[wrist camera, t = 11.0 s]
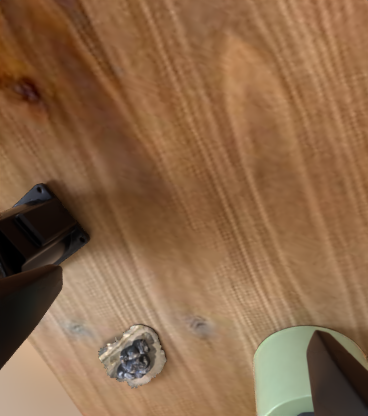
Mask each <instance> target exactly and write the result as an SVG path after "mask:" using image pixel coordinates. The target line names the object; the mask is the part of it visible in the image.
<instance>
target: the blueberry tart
mask: <svg viewBox="0 0 368 416" xmlns="http://www.w3.org/2000/svg"><path fill="white" fill-rule="evenodd" d="M130 328H131V330H130V331H129V330H128V331H125V333H124V332H123V338H122V339H120V341H118V340H117V339H116V340H115V341H117V342H114V343H113V344H112V345H111V344H110V343H109V344H107V345H108V347H105V348H103V349H102V348H100V351H98V352H99V353H98V354H99V358H100V361H101V363H103V364H104V365H105V366H104V368H105V369H106V368H107V370H106V373H107V375H109V376H110V378H117V379H116V380H117V381H119V382H124V381H127V383H128V385H129V386H131V387H132V388H134V387H135V388H138V387H137V386H138V385H140V386H142V385H143V384H146V383H147V382H150V379H151V378H152V377H154V378H155V376H156V374H158V373H160V372H161V371H162V368H163V366H164V363H165V362H167V360H166V358H165V353H164V351H163V350H160V349H161V348H160V347H161V345H159V343H160V342H159V341H158V336H157V334H155V333H154V330H152V329H151V328H149V327H145V326H143V325H137V326H135V325H133V326H132V327H130Z"/></svg>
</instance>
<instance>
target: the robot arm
mask: <svg viewBox="0 0 368 416" xmlns="http://www.w3.org/2000/svg"><path fill="white" fill-rule="evenodd" d="M40 188H41V189H42V191H41V190H40ZM82 237H83V238H84V239H85V240H83V239H82ZM89 240H90V238H89V236H88V234H87V233H86V232H85V231H84V230H83V228H82V227H81V226H80V225H79V224H78V222H77V221H76V220H75V219H74V218H73V217H72V215H71V214H70V213H69V212H68V211H67V209H66V208H65V207H64V206H63V205H62V204H61V202H60V201H59V200H58V199H57V198H56V196H55V195H54V194H53V193H52V192H51V191H50V189H49V188H48V187H47V186H46V185H45V184H43V183H39V184H37V185H35V186H34V187H33V188H32V189H31V190H30V191H29V192H28V193H27V194H26V195H25V196H24V197H23V198H22V199H21V200H20V201H19V202H17V203H16V204H15V205H14V206H13V207H12V208H11V209H8V210H6V211H3V212H1V213H0V370H1V368H2V367H3V366H4V365H5V363H6V362H7V361H8V360H9V359H10V358H11V356H12V355H13V354H14V353H15V351H16V350H17V349H18V348H19V347H20V345H21V344H22V343H23V342H24V341H25V340H26V338H27V337H28V336H29V335H30V334H31V332H32V331H33V330H34V329H35V327H36V326H37V325H38V323H39V322H40V320H41V319H42V318H43V316H44V315H45V313H46V312H47V310H48V309H49V307H50V306H51V304H52V303H53V302H54V300H55V299H56V297H57V296H58V294H59V293H60V291H61V289H62V285H63V279H62V267H61V266H58V265H59V264H60V263H61V262H63V261H64V260H65V259H67V258H68V257H69V256H71V255H72V254H73V253H75V252H76V251H77V250H79V249H80V248H81V247H83V246H84V245H85V244H87V243H88V242H89ZM306 357H307V365H308V373H309V381H310V388H311V396H312V403H313V409H314V414H315V416H368V370H367V369H366V368H365V367H364V366H363V365H362V364H361V363H360V362H359V361H358V360H357V359H356V358H355V357H354V356H353V355H352V354H351V353H350V352H349V351H348V350H347V349H345V348H344V347H343V346H342V345H341V344H340V343H339V342H338V341H337V340H336V339H335V338H334V337H333V336H332V335H331V334H330V333H329V332H325V331H321V330H315V331H314V332H313V334H312V337H311V339H310V342H309V344H308V347H307V351H306Z"/></svg>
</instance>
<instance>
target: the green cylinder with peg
mask: <svg viewBox="0 0 368 416" xmlns="http://www.w3.org/2000/svg"><path fill="white" fill-rule="evenodd" d="M315 330H321V331H325V332H329V333H330V334H331V335H332V336H333V337H334V338H335V339H336V340H337V341H338V342H339V343H340V344H341V345H342V346H343V347H344V348H345V349H347V350H348V351H349V352H350V353H351V354H352V355H353V356H354V357H355V358H356V359H357V360H358V361H359V362H360V363H361V364H362V365H363V366H364V367H365V368H366V369H367V370H368V359H367V357H366V355H365V354H364V352H363V351H362V350H361V348H360V347H359V346H358V345H357V344H356V343H355V342H354V341H352V340H351V339H349V338H348V337H346V336H345V335H343V334H341V333H339V332H336V331H334V330H331V329H327V328H323V327H317V326H296V327H290V328H286V329H283V330H280V331H278V332H276V333H274V334H272V335H270V336H269V337H267V338H266V339H265V340H264V341H263V342H262V343H261V344H260V345H259V347H258V349H257V350H256V353H255V355H254V359H253V373H254V389H255V405H256V416H297V415H299V414H300V413H303V412H314V409H313V403H312V396H311V388H310V381H309V373H308V365H307V357H306V351H307V347H308V344H309V342H310V339H311V337H312V334H313V332H314V331H315Z"/></svg>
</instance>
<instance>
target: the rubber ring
mask: <svg viewBox="0 0 368 416" xmlns="http://www.w3.org/2000/svg"><path fill="white" fill-rule="evenodd" d="M297 416H315V414H314V412H303V413H300V414H299V415H297Z"/></svg>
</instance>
